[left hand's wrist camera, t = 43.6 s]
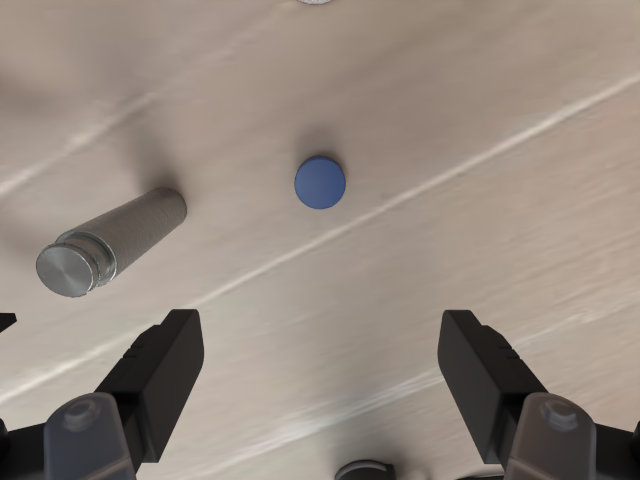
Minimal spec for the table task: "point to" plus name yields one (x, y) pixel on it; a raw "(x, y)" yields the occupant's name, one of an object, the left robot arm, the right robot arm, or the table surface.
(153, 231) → the metal thermos flask
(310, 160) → the lid
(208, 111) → the table surface
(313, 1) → the mug
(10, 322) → the right robot arm
